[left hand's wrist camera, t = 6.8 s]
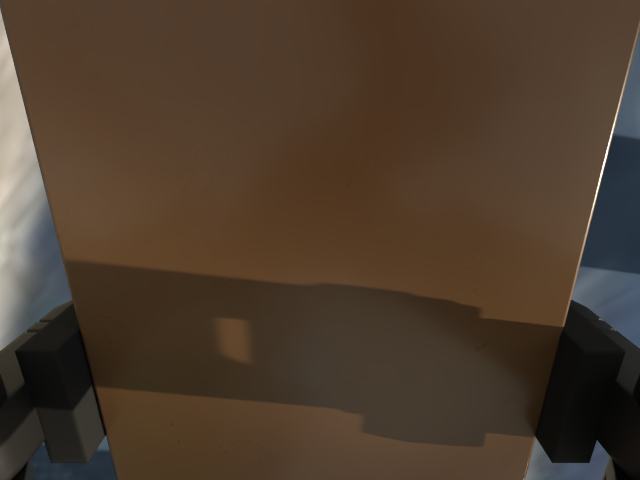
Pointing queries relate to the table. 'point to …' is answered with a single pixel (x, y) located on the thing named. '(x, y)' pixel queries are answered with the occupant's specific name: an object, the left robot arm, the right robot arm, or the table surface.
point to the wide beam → (321, 221)
